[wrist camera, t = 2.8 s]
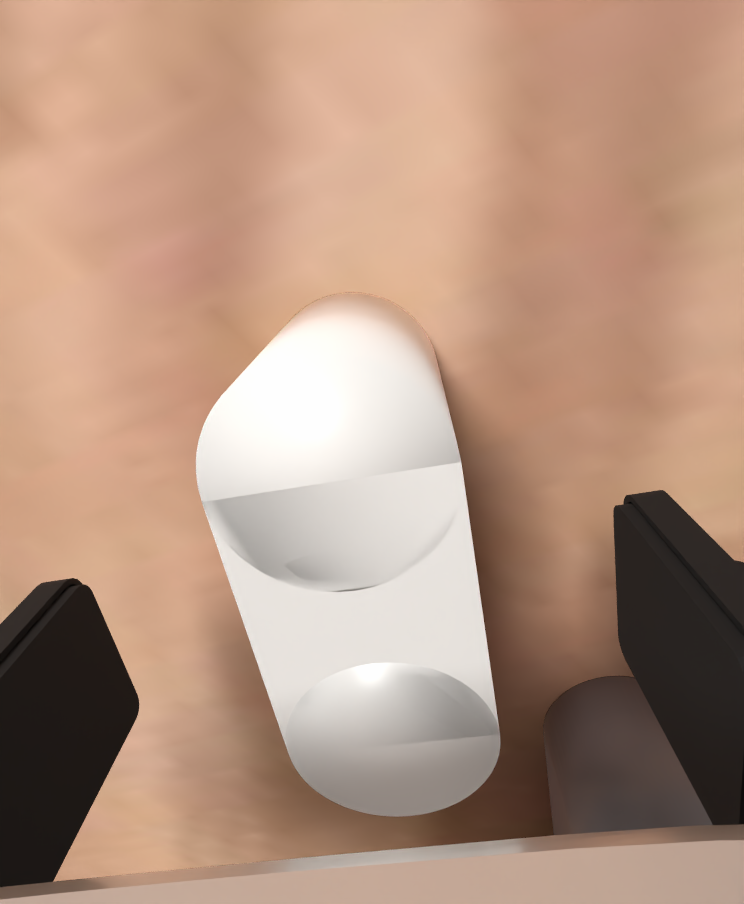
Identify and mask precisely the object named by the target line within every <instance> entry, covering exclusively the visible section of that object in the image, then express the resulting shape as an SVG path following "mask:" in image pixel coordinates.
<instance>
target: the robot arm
mask: <svg viewBox="0 0 744 904" xmlns="http://www.w3.org/2000/svg"><path fill="white" fill-rule="evenodd" d="M614 540H615V565H616V590H617V615H618V636H619V642H620V646H621V650H622V653H623V655H624V658H625V660H626V662H627V663H628V665H629V667H630V669H631V671H632V673H633V675H634V677H635V679H636V680H637V682H638V684H639V686H640V688H641V690H642V692H643V694H644V696H645V698H646V699H647V701H648V703H649V705H650V707H651V709H652V711H653V713H654V715H655V716H656V718H657V720H658V722H659V724H660V726H661V728H662V730H663V732H664V733H665V735H666V737H667V739H668V741H669V743H670V745H671V747H672V749H673V750H674V752H675V754H676V756H677V758H678V760H679V762H680V764H681V766H682V767H683V769H684V771H685V773H686V775H687V777H688V779H689V781H690V783H691V784H692V786H693V788H694V790H695V792H696V794H697V796H698V798H699V800H700V801H701V803H702V805H703V807H704V809H705V811H706V813H707V815H708V817H709V818H710V820H711V822H712V824H713V825H700V826H680V827H666V828H652V829H638V830H624V831H609V832H595V833H581V834H567V835H553V836H541V837H530V838H519V839H507V840H496V841H485V842H473V843H462V844H451V845H439V846H428V847H417V848H405V849H394V850H383V851H371V852H360V853H349V854H338V855H327V856H317V857H306V858H295V859H285V860H274V861H263V862H252V863H242V864H231V865H221V866H210V867H200V868H189V869H179V870H168V871H158V872H147V873H137V874H126V875H116V876H106V877H96V878H87V879H77V880H67V881H57V882H53V880H54V878H55V877H56V875H57V873H58V871H59V869H60V867H61V865H62V863H63V861H64V859H65V857H66V855H67V853H68V851H69V849H70V847H71V845H72V843H73V841H74V839H75V837H76V835H77V833H78V832H79V830H80V828H81V826H82V824H83V822H84V820H85V818H86V816H87V814H88V812H89V810H90V808H91V806H92V804H93V802H94V800H95V798H96V796H97V794H98V792H99V790H100V788H101V787H102V785H103V783H104V781H105V779H106V777H107V775H108V773H109V771H110V769H111V767H112V765H113V763H114V761H115V759H116V757H117V755H118V753H119V751H120V749H121V747H122V745H123V743H124V742H125V740H126V738H127V736H128V734H129V732H130V730H131V728H132V726H133V724H134V722H135V720H136V718H137V715H138V711H139V699H138V695H137V693H136V691H135V688H134V686H133V684H132V681H131V679H130V677H129V675H128V672H127V670H126V668H125V665H124V663H123V661H122V659H121V656H120V654H119V652H118V649H117V647H116V645H115V643H114V640H113V638H112V636H111V633H110V631H109V629H108V627H107V624H106V622H105V620H104V617H103V615H102V613H101V611H100V608H99V606H98V604H97V601H96V599H95V597H94V595H93V592H92V590H91V589H90V588H89V587H88V586H87V585H83V584H82V583H81V582H80V581H79V580H78V579H74V578H71V579H64V580H58V581H51V582H45V583H41V584H40V585H38V586H37V587H36V588H35V589H34V590H33V591H32V592H31V593H30V594H29V595H28V596H27V597H26V598H25V599H24V600H23V601H22V602H21V603H20V604H19V605H18V607H17V608H16V609H15V610H14V611H13V612H12V613H11V614H10V615H9V616H8V617H7V618H6V619H5V620H4V621H3V622H2V623H1V624H0V904H744V563H743V562H740V561H734V560H733V559H732V558H731V557H730V556H729V555H728V554H727V553H726V552H725V551H724V550H723V549H722V548H721V547H720V546H719V545H718V544H717V543H716V542H715V541H714V540H713V539H712V538H711V537H710V536H709V535H708V534H707V533H706V532H705V531H704V530H703V529H702V528H701V527H700V526H699V525H698V524H697V523H696V522H695V521H694V520H693V519H692V518H691V517H690V516H689V515H688V514H687V513H686V512H685V511H684V510H683V509H682V508H681V507H680V506H679V505H678V504H677V503H676V502H675V501H674V500H673V499H672V498H671V497H670V496H669V495H668V494H667V493H666V492H665V491H663V490H659V491H652V492H645V493H639V494H632V495H627V496H626V497H625V499H624V505H617V506H615V507H614Z"/></svg>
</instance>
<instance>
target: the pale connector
mask: <svg viewBox="0 0 744 904" xmlns="http://www.w3.org/2000/svg"><path fill="white" fill-rule="evenodd" d="M196 476H197V484H198V489H199V493H200V497H201V500H202V504H203V507H204V510H205V512H206V515H207V518H208V521H209V524H210V527H211V530H212V533H213V536H214V539H215V541H216V544H217V547H218V550H219V553H220V556H221V559H222V562H223V565H224V568H225V571H226V573H227V576H228V579H229V582H230V585H231V588H232V591H233V594H234V597H235V600H236V603H237V605H238V608H239V611H240V614H241V617H242V620H243V623H244V626H245V629H246V632H247V634H248V637H249V640H250V643H251V646H252V649H253V652H254V655H255V658H256V661H257V664H258V666H259V669H260V672H261V675H262V678H263V681H264V684H265V687H266V690H267V693H268V696H269V698H270V701H271V704H272V707H273V710H274V713H275V716H276V719H277V722H278V725H279V727H280V730H281V733H282V736H283V739H284V742H285V745H286V748H287V751H288V754H289V756H290V759H291V761H292V763H293V765H294V767H295V768H296V770H297V772H298V773H299V775H300V776H301V777H302V778H303V779H304V780H305V782H306V783H307V784H309V785H310V786H311V787H312V788H313V789H314V790H315V791H317V792H318V793H320V794H321V795H322V796H324V797H326V798H327V799H329V800H331V801H333V802H334V803H337V804H339V805H341V806H344V807H346V808H349V809H352V810H355V811H358V812H363V813H367V814H372V815H380V816H394V817H400V816H414V815H422V814H427V813H431V812H435V811H438V810H441V809H444V808H447V807H449V806H452V805H454V804H456V803H458V802H460V801H462V800H463V799H465V798H467V797H468V796H470V795H471V794H472V793H474V792H475V791H476V790H477V789H478V788H479V787H480V786H481V785H482V784H483V783H484V782H485V781H486V780H487V778H488V777H489V776H490V774H491V773H492V771H493V769H494V767H495V765H496V763H497V760H498V757H499V752H500V745H501V744H500V731H499V724H498V717H497V710H496V703H495V696H494V689H493V682H492V675H491V668H490V660H489V653H488V646H487V639H486V632H485V625H484V618H483V611H482V604H481V597H480V590H479V583H478V576H477V569H476V562H475V555H474V548H473V541H472V534H471V527H470V520H469V513H468V506H467V499H466V492H465V485H464V478H463V471H462V464H461V459H460V454H459V450H458V445H457V441H456V437H455V433H454V429H453V425H452V420H451V416H450V412H449V408H448V404H447V400H446V396H445V392H444V388H443V383H442V379H441V375H440V371H439V367H438V363H437V359H436V355H435V351H434V349H433V346H432V343H431V341H430V339H429V338H428V336H427V334H426V332H425V331H424V329H423V328H422V327H421V325H420V324H419V323H418V322H417V321H416V320H415V318H414V317H413V316H412V315H410V314H409V313H408V312H407V311H406V310H404V309H403V308H402V307H400V306H398V305H397V304H395V303H393V302H391V301H389V300H387V299H384V298H382V297H379V296H375V295H372V294H366V293H356V292H347V293H339V294H334V295H330V296H326V297H323V298H321V299H318V300H316V301H314V302H312V303H311V304H309V305H307V306H305V307H304V308H303V309H302V310H300V311H299V312H298V313H296V314H295V316H294V317H293V318H292V319H291V320H290V321H289V322H288V323H287V324H286V325H285V326H284V327H283V328H282V330H281V331H280V332H279V333H278V334H277V335H276V336H275V337H274V338H273V339H272V341H271V342H270V343H269V344H268V345H267V346H266V347H265V348H264V349H263V351H262V352H261V353H260V354H259V355H258V356H257V357H256V358H255V359H254V360H253V362H252V363H251V364H250V365H249V366H248V367H247V368H246V369H245V370H244V371H243V373H242V374H241V375H240V376H239V377H238V378H237V379H236V380H235V381H234V383H233V384H232V385H231V386H230V387H229V388H228V389H227V390H226V391H225V392H224V394H223V395H222V396H221V397H220V398H219V400H218V401H217V403H216V404H215V405H214V407H213V408H212V410H211V411H210V413H209V415H208V417H207V419H206V421H205V423H204V426H203V429H202V432H201V435H200V438H199V442H198V448H197V454H196Z"/></svg>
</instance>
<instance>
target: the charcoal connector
mask: <svg viewBox="0 0 744 904" xmlns="http://www.w3.org/2000/svg"><path fill="white" fill-rule="evenodd" d="M543 735H544V745H545V754H546V764H547V774H548V784H549V793H550V803H551V813H552V823H553V833H554V835H567V834H581V833H595V832H609V831H624V830H638V829H652V828H666V827H680V826H700V825H713V824H712V822H711V820H710V818H709V817H708V815H707V813H706V811H705V809H704V807H703V805H702V803H701V801H700V800H699V798H698V796H697V794H696V792H695V790H694V788H693V786H692V784H691V783H690V781H689V779H688V777H687V775H686V773H685V771H684V769H683V767H682V766H681V764H680V762H679V760H678V758H677V756H676V754H675V752H674V750H673V749H672V747H671V745H670V743H669V741H668V739H667V737H666V735H665V733H664V732H663V730H662V728H661V726H660V724H659V722H658V720H657V718H656V716H655V715H654V713H653V711H652V709H651V707H650V705H649V703H648V701H647V699H646V698H645V696H644V694H643V692H642V690H641V688H640V686H639V684H638V682H637V680H636V679H635V678H634V677H627V676H607V677H601V678H596V679H592V680H588V681H586V682H583V683H580V684H578V685H576V686H574V687H572V688H571V689H569V690H567V691H566V692H565V693H563V694H562V695H561V696H559V697H558V698H557V699H556V701H555V702H554V703H553V704H552V705H551V707H550V708H549V710H548V712H547V714H546V716H545V719H544V724H543Z"/></svg>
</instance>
